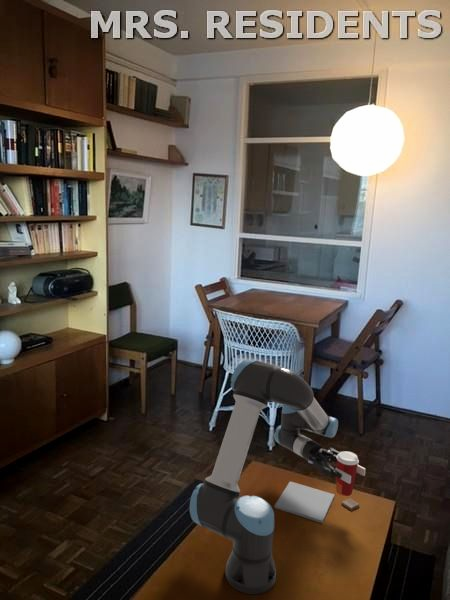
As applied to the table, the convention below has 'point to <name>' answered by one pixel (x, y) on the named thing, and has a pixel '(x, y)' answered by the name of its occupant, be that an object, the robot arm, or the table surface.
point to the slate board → (305, 501)
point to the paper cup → (346, 471)
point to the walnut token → (350, 504)
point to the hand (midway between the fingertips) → (357, 476)
